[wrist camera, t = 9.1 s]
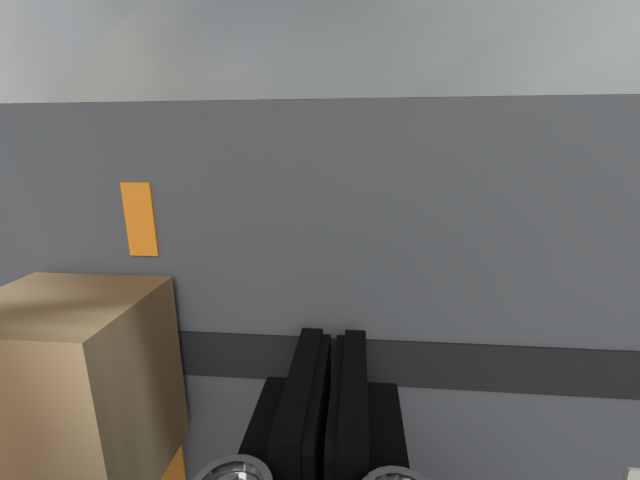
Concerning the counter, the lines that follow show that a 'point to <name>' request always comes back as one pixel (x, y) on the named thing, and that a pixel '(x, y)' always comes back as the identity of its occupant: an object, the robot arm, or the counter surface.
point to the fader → (89, 377)
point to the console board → (366, 258)
